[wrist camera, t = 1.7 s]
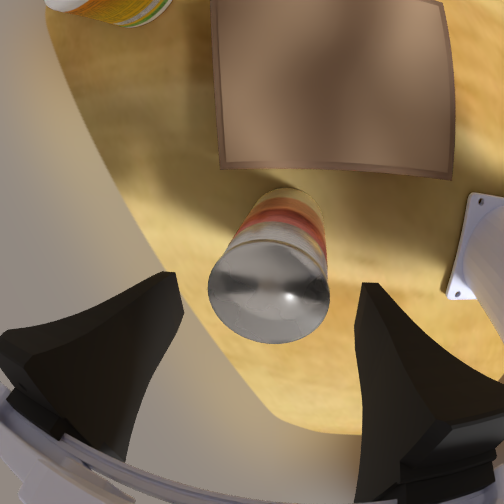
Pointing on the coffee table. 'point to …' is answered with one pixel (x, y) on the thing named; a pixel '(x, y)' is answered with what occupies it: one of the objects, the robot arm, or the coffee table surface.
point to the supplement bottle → (113, 10)
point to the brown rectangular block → (334, 85)
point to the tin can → (274, 271)
